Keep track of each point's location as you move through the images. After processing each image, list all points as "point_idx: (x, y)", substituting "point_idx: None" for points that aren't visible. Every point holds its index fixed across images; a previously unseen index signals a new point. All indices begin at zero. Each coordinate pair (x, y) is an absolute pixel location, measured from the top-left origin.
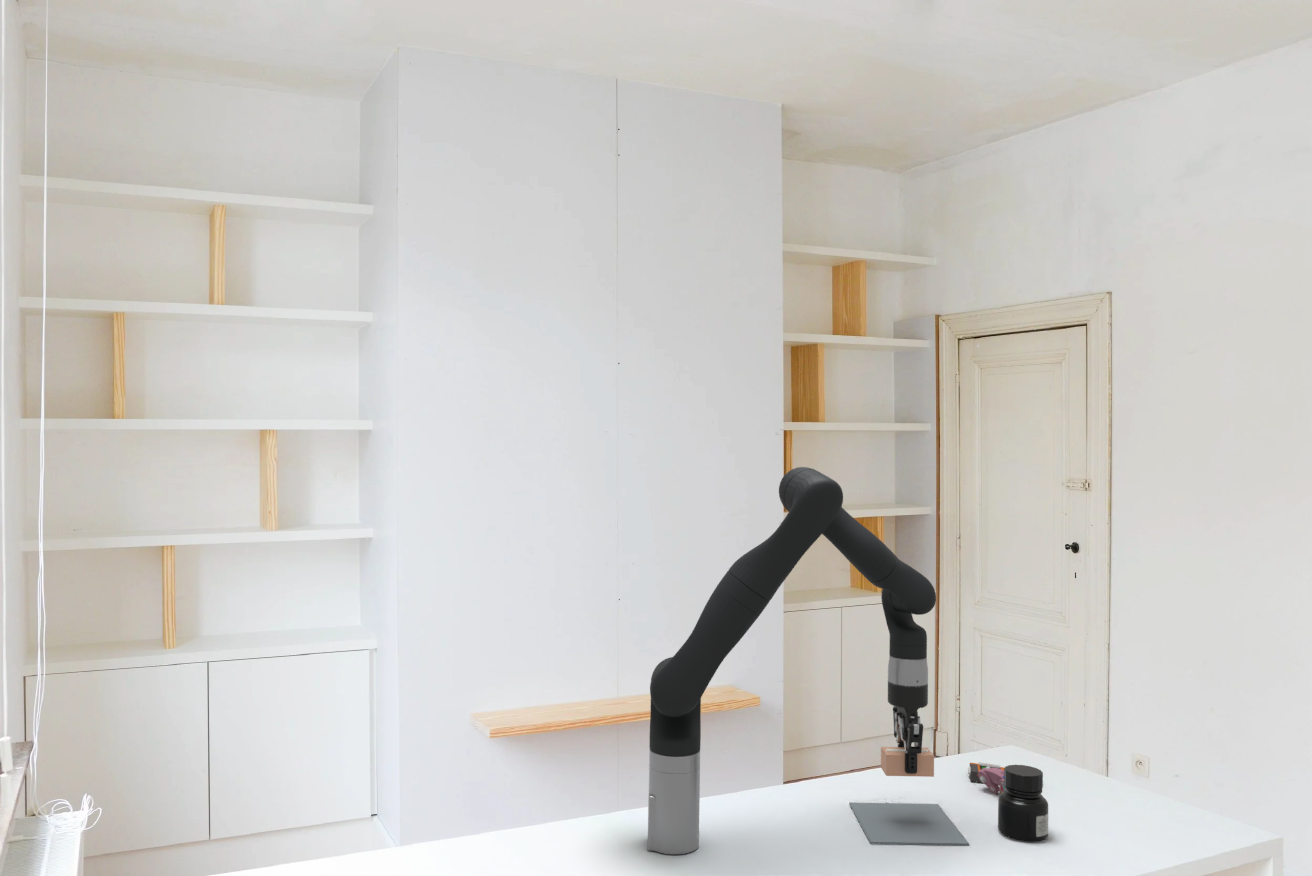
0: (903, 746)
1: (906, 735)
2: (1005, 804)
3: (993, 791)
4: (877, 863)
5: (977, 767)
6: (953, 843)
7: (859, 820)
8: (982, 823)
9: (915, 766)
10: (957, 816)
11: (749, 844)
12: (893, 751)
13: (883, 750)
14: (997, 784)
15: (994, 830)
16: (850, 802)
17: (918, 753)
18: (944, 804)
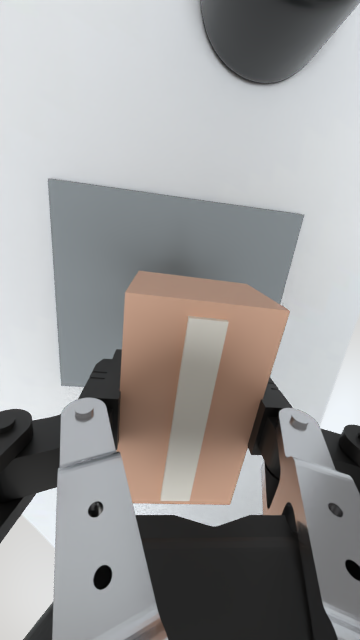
0: (118, 423)
1: (31, 434)
2: (342, 3)
3: None
4: (321, 401)
5: None
6: (293, 250)
7: None
8: (178, 99)
9: (272, 383)
10: (126, 155)
11: (225, 522)
12: (193, 476)
13: (169, 503)
14: None
15: (229, 88)
16: (61, 383)
17: (304, 412)
18: (34, 152)
